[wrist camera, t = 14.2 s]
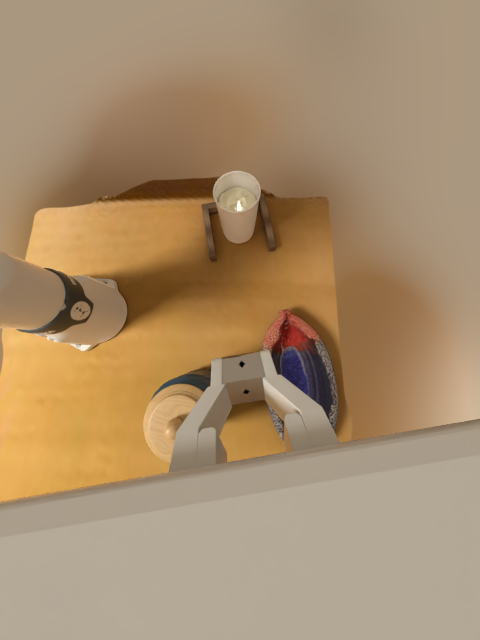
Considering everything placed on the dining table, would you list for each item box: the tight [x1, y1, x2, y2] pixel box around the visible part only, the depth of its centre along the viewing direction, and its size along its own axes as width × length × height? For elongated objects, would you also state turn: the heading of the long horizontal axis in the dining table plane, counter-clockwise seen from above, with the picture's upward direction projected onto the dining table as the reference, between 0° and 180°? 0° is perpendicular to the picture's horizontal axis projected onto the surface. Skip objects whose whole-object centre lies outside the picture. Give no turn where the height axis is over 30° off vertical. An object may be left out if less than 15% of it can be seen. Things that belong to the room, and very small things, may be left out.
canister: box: [143, 370, 220, 463], centre depth 32 cm, size 13×13×18 cm
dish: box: [262, 309, 338, 442], centre depth 39 cm, size 16×31×5 cm, turn 5°
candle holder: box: [213, 171, 261, 244], centre depth 42 cm, size 10×10×12 cm
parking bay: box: [202, 194, 276, 261], centre depth 47 cm, size 16×17×2 cm
